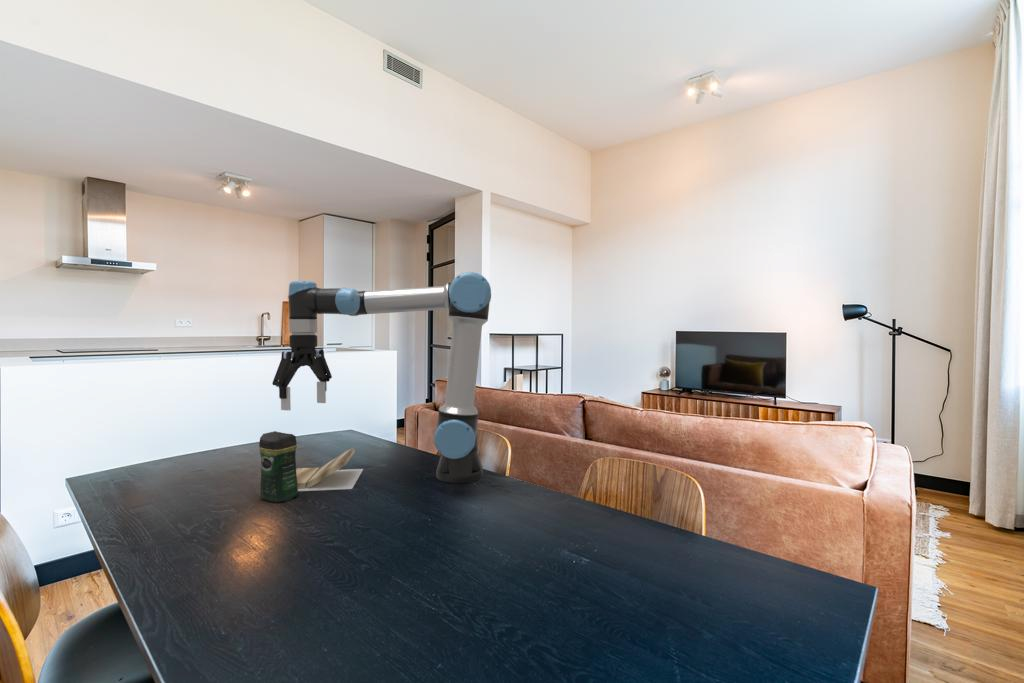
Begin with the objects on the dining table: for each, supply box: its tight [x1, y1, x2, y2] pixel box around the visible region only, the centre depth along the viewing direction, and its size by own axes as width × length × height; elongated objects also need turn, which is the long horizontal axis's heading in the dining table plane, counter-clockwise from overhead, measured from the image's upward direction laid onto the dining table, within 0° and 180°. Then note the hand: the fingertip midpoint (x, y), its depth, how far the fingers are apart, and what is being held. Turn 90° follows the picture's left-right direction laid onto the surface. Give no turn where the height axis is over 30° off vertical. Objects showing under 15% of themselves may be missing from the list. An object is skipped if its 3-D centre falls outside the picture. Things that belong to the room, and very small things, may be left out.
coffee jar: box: [258, 430, 299, 503], centre depth 131 cm, size 10×8×19 cm
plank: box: [307, 447, 356, 487], centre depth 147 cm, size 12×16×2 cm
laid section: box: [296, 467, 320, 489], centre depth 145 cm, size 11×16×2 cm
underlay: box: [298, 468, 364, 492], centre depth 147 cm, size 25×20×1 cm
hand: (304, 406), depth 137 cm, fingers open, 13 cm apart
